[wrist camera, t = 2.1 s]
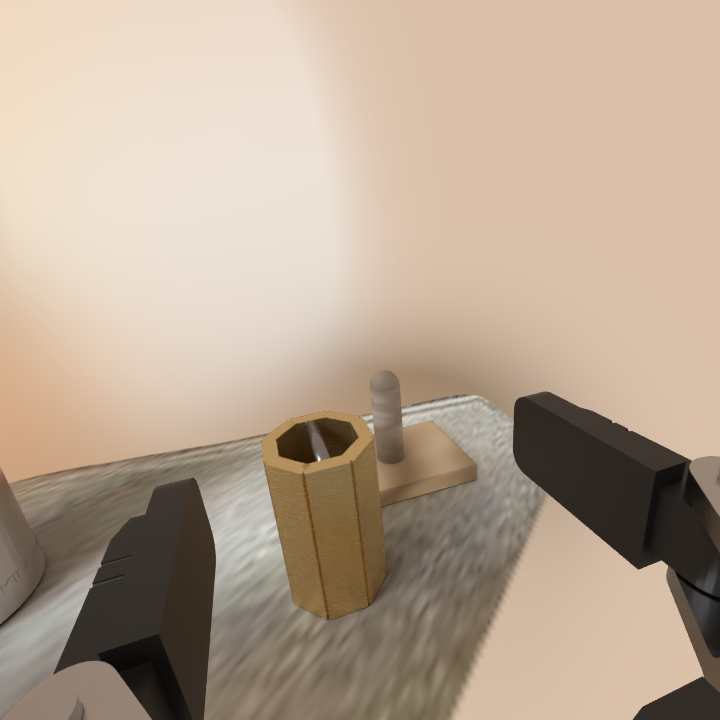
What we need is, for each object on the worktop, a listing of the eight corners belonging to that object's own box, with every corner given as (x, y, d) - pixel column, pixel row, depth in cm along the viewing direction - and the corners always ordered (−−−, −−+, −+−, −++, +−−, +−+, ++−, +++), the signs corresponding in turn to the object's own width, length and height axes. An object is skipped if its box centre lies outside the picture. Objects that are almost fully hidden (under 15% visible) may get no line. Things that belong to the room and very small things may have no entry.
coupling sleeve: (297, 631, 22) (265, 484, 18) (286, 550, 27) (259, 425, 24) (397, 596, 23) (385, 453, 20) (367, 526, 28) (353, 404, 25)
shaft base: (336, 519, 29) (320, 408, 26) (317, 462, 37) (302, 369, 33) (476, 479, 32) (477, 374, 29) (432, 433, 39) (429, 345, 36)
